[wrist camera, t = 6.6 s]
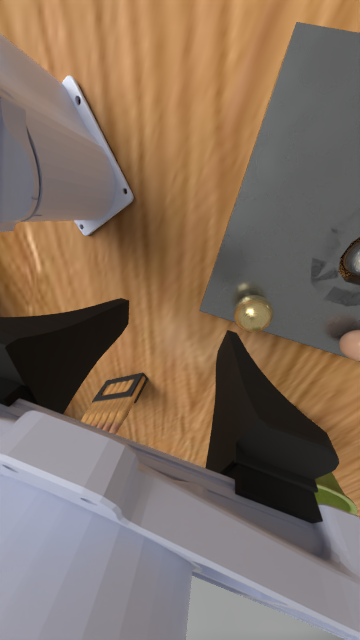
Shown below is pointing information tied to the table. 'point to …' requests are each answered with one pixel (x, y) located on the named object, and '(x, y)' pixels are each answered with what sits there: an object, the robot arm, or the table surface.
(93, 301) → the table surface
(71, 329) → the robot arm
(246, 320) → the brass ball
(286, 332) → the hole plate
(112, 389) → the ammunition clip
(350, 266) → the steel ball
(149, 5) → the table surface
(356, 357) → the terracotta ball
